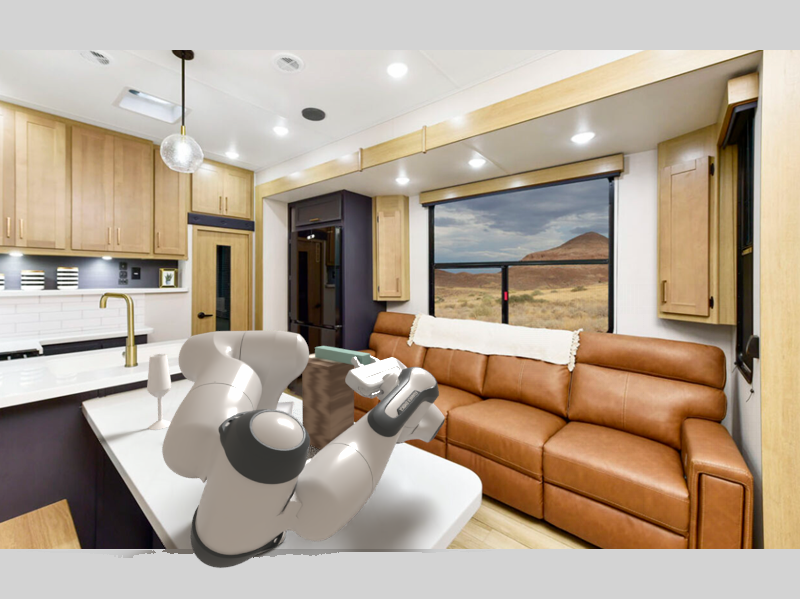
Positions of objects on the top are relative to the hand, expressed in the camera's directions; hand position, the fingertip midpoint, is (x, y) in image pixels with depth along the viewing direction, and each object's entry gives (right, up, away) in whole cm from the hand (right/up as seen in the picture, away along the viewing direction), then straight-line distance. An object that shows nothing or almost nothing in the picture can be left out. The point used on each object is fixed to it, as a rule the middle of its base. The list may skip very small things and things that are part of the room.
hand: (359, 357), depth 99 cm
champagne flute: (-69, -26, +18) cm, 76 cm away
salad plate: (-37, -27, +23) cm, 51 cm away
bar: (-6, -2, +4) cm, 7 cm away
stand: (-11, -28, +9) cm, 31 cm away
